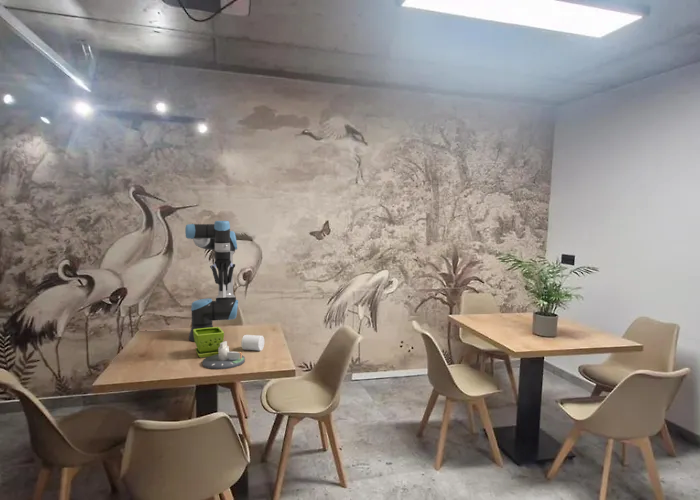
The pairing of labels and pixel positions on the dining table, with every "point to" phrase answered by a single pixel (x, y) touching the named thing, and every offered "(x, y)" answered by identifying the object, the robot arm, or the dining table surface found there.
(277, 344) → the dining table surface
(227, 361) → the dial
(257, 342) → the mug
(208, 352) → the flower pot
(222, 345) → the white lumpy piece
